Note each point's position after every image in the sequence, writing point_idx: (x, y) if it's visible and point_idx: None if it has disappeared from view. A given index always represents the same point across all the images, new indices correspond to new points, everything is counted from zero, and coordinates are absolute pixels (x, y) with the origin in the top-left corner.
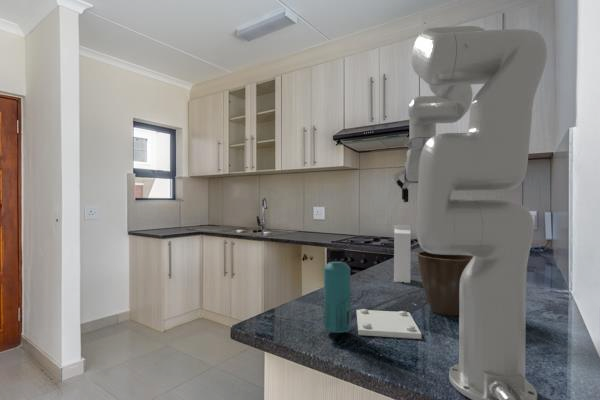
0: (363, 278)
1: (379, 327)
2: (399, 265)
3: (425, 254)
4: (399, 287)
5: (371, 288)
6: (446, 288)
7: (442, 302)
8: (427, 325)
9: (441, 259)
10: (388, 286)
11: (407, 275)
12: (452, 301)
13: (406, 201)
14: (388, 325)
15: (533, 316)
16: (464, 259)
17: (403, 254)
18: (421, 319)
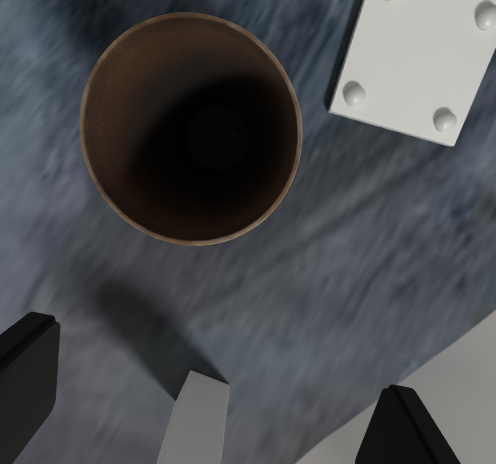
0: (299, 424)
1: (457, 11)
2: (210, 417)
3: (228, 231)
4: (238, 336)
5: (318, 336)
6: (239, 73)
7: (244, 98)
8: (313, 49)
9: (260, 41)
10: (264, 348)
11: (193, 386)
12: (221, 84)
13: (405, 388)
14: (428, 23)
15: (18, 80)
16: (102, 160)
17: (192, 444)
18: (306, 91)
